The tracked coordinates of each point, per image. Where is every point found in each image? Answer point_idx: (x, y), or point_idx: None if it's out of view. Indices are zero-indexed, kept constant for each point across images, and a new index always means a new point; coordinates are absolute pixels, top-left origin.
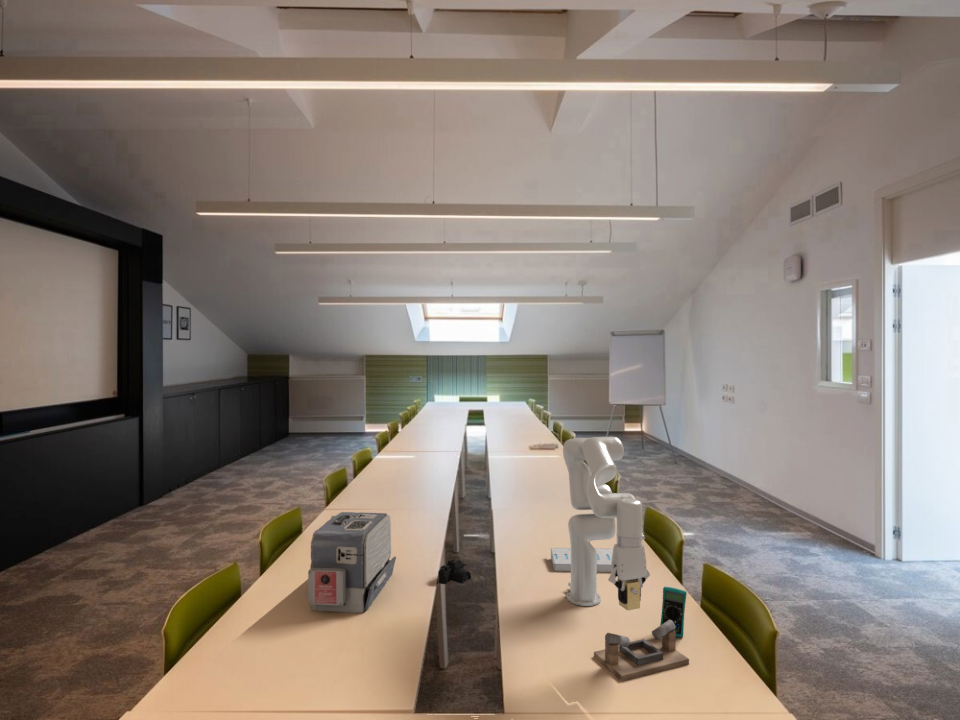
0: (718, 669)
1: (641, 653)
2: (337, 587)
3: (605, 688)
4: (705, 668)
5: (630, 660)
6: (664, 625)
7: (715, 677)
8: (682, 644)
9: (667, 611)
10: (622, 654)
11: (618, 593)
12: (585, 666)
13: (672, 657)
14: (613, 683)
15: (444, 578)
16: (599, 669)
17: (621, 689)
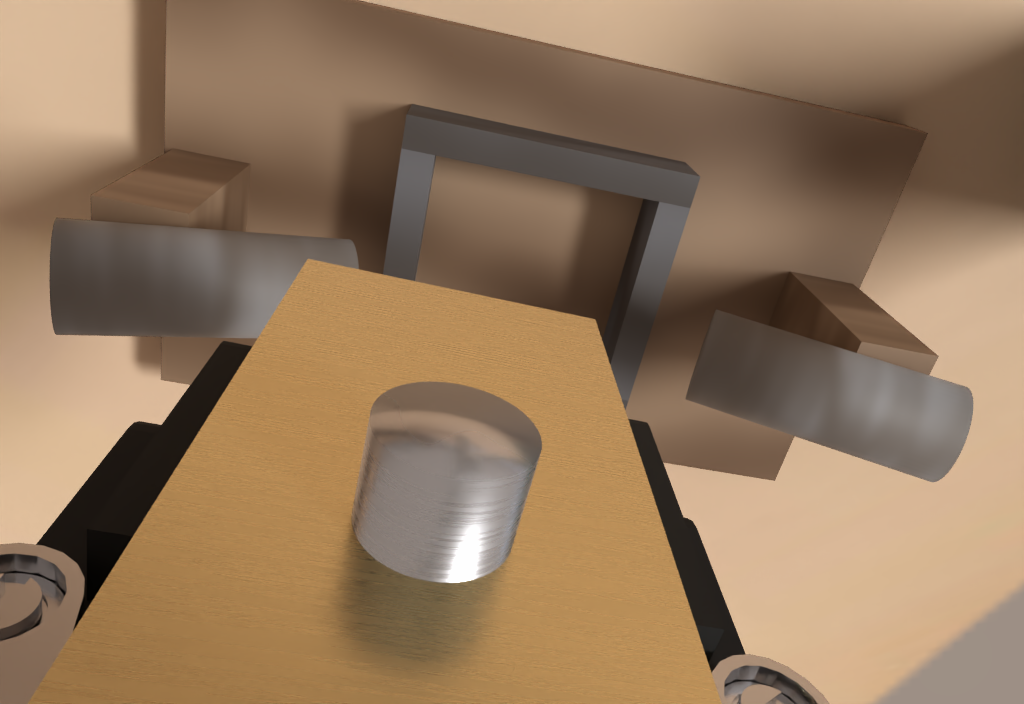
0: (841, 576)
1: (551, 246)
2: None
3: (5, 359)
4: (792, 535)
5: (380, 271)
6: (837, 430)
7: (739, 610)
8: (1013, 270)
9: None
10: (391, 164)
11: (78, 510)
12: (10, 46)
13: (699, 413)
14: (99, 347)
15: None
16: (107, 155)
17: (109, 420)
